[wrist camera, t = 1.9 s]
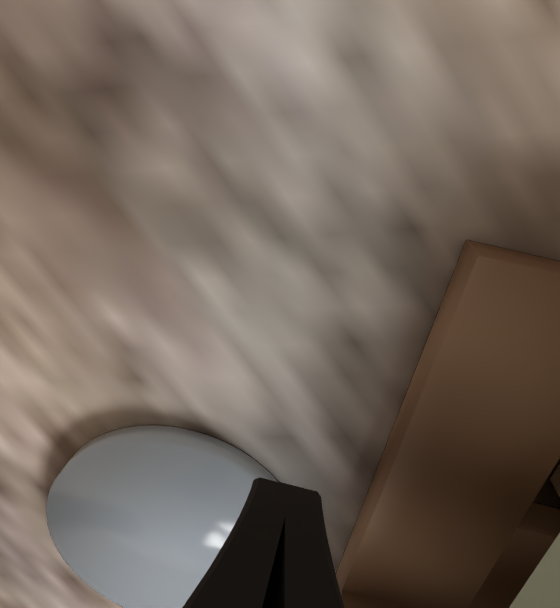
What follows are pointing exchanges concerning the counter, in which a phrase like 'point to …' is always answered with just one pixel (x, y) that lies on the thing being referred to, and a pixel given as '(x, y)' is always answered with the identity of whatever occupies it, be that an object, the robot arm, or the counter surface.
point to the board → (468, 448)
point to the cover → (542, 582)
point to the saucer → (148, 511)
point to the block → (556, 480)
